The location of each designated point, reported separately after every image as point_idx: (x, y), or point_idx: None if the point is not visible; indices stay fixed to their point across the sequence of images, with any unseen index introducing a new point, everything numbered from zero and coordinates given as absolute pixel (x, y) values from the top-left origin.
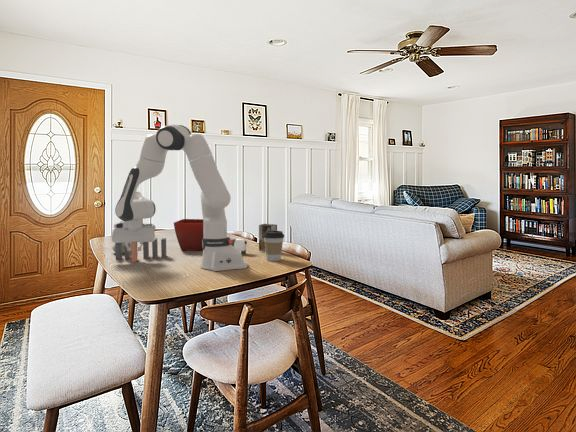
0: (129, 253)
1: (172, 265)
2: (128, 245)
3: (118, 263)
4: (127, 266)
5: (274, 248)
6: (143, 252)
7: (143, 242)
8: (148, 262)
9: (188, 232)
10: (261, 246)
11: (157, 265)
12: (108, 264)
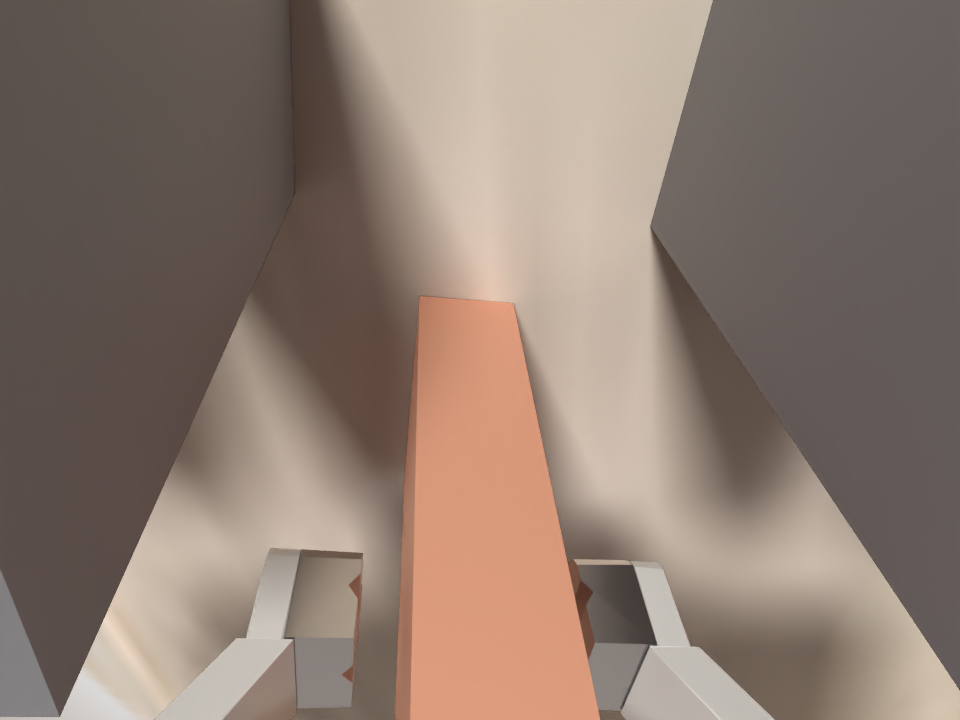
0: (263, 179)
1: (938, 713)
2: (170, 446)
3: (183, 529)
4: (385, 685)
5: None
6: (708, 309)
7: (903, 578)
8: (693, 551)
9: None
10: None
11: (773, 694)
12: None
